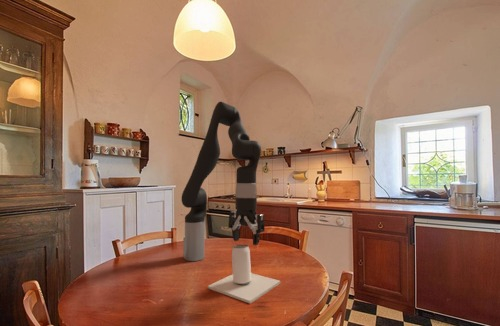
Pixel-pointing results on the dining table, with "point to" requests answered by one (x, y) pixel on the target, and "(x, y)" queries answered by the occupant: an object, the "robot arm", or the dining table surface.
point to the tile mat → (245, 287)
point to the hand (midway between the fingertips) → (245, 242)
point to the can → (241, 264)
